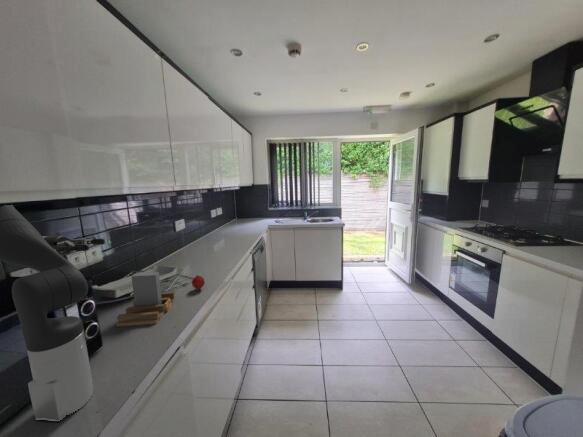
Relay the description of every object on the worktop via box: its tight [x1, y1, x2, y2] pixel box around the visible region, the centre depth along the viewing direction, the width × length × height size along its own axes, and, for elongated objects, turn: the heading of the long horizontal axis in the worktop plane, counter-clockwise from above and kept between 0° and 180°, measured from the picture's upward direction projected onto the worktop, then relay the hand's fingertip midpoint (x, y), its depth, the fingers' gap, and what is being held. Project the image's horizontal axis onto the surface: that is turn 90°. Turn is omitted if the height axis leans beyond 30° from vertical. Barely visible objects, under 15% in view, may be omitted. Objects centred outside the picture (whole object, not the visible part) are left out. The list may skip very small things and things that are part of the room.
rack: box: [115, 291, 177, 328], centre depth 95 cm, size 20×15×4 cm
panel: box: [131, 271, 162, 306], centre depth 94 cm, size 3×9×15 cm, turn 97°
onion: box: [191, 274, 205, 291], centre depth 114 cm, size 6×6×8 cm
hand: (96, 244), depth 87 cm, fingers open, 8 cm apart
